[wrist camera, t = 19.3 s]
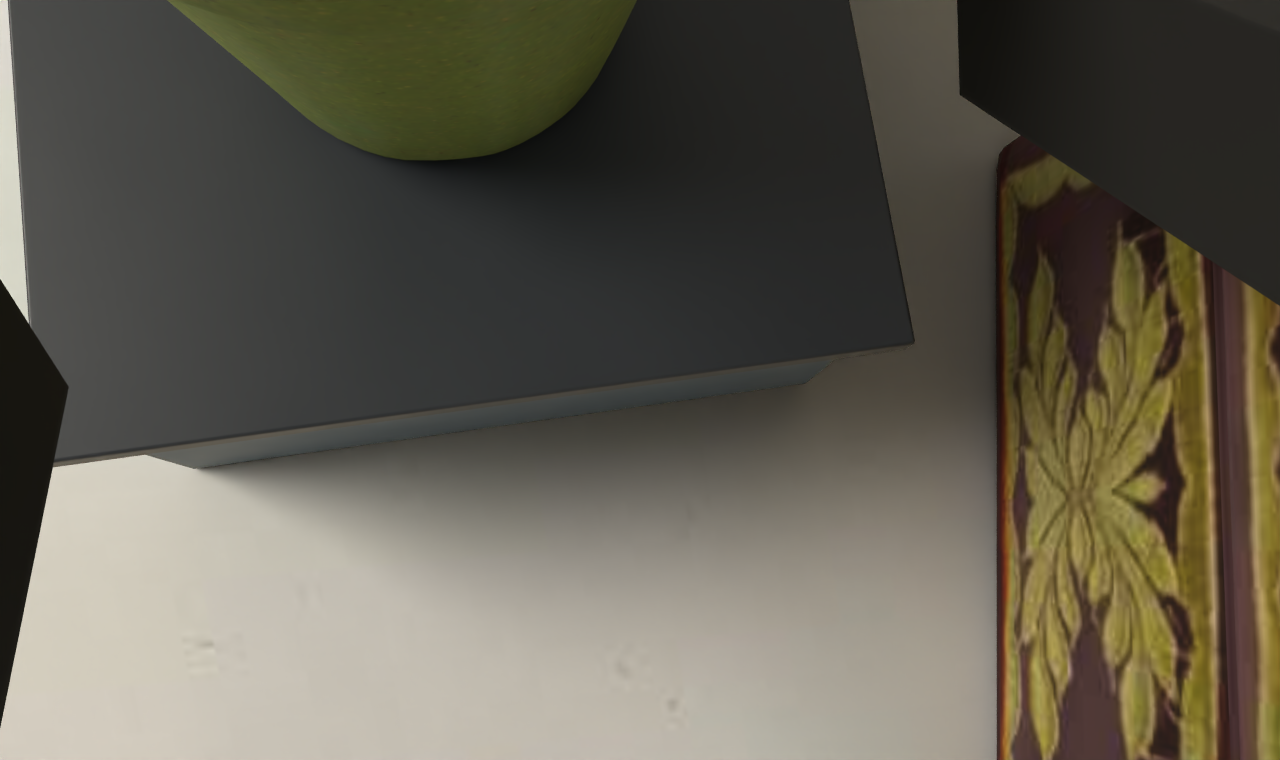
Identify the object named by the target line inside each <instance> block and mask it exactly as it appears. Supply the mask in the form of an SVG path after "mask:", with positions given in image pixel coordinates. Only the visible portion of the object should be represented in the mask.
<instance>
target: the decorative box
mask: <svg viewBox="0 0 1280 760" xmlns="http://www.w3.org/2000/svg"><path fill="white" fill-rule="evenodd" d="M996 383H997V760H1280V306H1279V305H1277V304H1276V303H1274V302H1273V301H1271V300H1270V299H1268V298H1267V297H1265V296H1264V295H1262V294H1261V293H1259V292H1258V291H1256V290H1255V289H1253V288H1252V287H1250V286H1249V285H1247V284H1246V283H1244V282H1243V281H1241V280H1240V279H1238V278H1237V277H1235V276H1233V275H1232V274H1230V273H1229V272H1227V271H1226V270H1224V269H1223V268H1221V267H1220V266H1218V265H1217V264H1215V263H1214V262H1212V261H1211V260H1209V259H1208V258H1206V257H1205V256H1203V255H1202V254H1200V253H1199V252H1197V251H1196V250H1194V249H1193V248H1191V247H1190V246H1188V245H1187V244H1185V243H1183V242H1182V241H1180V240H1179V239H1177V238H1176V237H1174V236H1173V235H1171V234H1170V233H1168V232H1167V231H1165V230H1164V229H1162V228H1161V227H1159V226H1158V225H1156V224H1155V223H1153V222H1152V221H1150V220H1149V219H1147V218H1146V217H1144V216H1143V215H1141V214H1140V213H1138V212H1137V211H1135V210H1133V209H1132V208H1130V207H1129V206H1127V205H1126V204H1124V203H1123V202H1121V201H1120V200H1118V199H1117V198H1115V197H1114V196H1112V195H1111V194H1109V193H1108V192H1106V191H1105V190H1103V189H1102V188H1100V187H1099V186H1097V185H1096V184H1094V183H1093V182H1091V181H1090V180H1088V179H1087V178H1085V177H1083V176H1082V175H1080V174H1079V173H1077V172H1076V171H1074V170H1073V169H1071V168H1070V167H1068V166H1067V165H1065V164H1064V163H1062V162H1061V161H1059V160H1058V159H1056V158H1055V157H1053V156H1052V155H1050V154H1049V153H1047V152H1046V151H1044V150H1043V149H1041V148H1040V147H1038V146H1036V145H1035V144H1033V143H1032V142H1030V141H1029V140H1027V139H1026V138H1024V137H1023V136H1020V137H1018V138H1017V139H1016V140H1014V141H1013V142H1011V143H1010V144H1009V145H1007V146H1006V147H1004V148H1003V150H1002V151H1001V153H1000V154H999V160H998V165H997V200H996Z"/></svg>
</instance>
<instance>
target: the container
mask: <svg viewBox="0 0 1280 760" xmlns="http://www.w3.org/2000/svg"><path fill="white" fill-rule="evenodd" d="M8 10H9V25H10V41H11V56H12V71H13V87H14V102H15V117H16V132H17V148H18V163H19V178H20V193H21V209H22V224H23V239H24V255H25V270H26V285H27V300H28V316H29V325H30V327H31V328H32V330H33V331H34V333H35V334H36V336H37V338H38V339H39V341H40V342H41V344H42V345H43V347H44V349H45V350H46V352H47V353H48V355H49V356H50V358H51V360H52V361H53V363H54V364H55V366H56V367H57V369H58V371H59V372H60V374H61V375H62V377H63V378H64V380H65V381H66V383H67V385H68V386H69V389H68V394H67V399H66V404H65V409H64V414H63V419H62V424H61V429H60V434H59V439H58V444H57V448H56V453H55V458H54V463H53V467H58V466H66V465H73V464H80V463H87V462H95V461H102V460H109V459H116V458H124V457H131V456H138V455H148V456H152V457H155V458H159V459H162V460H165V461H169V462H172V463H176V464H179V465H183V466H186V467H189V468H193V469H196V468H203V467H211V466H218V465H225V464H232V463H239V462H246V461H253V460H261V459H268V458H275V457H282V456H289V455H296V454H304V453H311V452H318V451H325V450H332V449H339V448H346V447H354V446H361V445H368V444H375V443H382V442H389V441H397V440H404V439H411V438H418V437H425V436H432V435H439V434H447V433H454V432H461V431H468V430H475V429H482V428H490V427H497V426H504V425H511V424H518V423H525V422H532V421H540V420H547V419H554V418H561V417H568V416H575V415H583V414H590V413H597V412H604V411H611V410H618V409H625V408H633V407H640V406H647V405H654V404H661V403H668V402H675V401H683V400H690V399H697V398H704V397H711V396H718V395H726V394H733V393H740V392H747V391H754V390H761V389H768V388H776V387H783V386H790V385H797V384H804V383H806V382H808V381H809V380H810V379H811V378H813V377H814V376H815V375H816V374H818V373H819V372H820V371H821V370H823V369H824V368H825V367H826V366H828V365H829V364H830V363H831V362H833V361H834V360H835V359H840V358H847V357H855V356H862V355H869V354H876V353H884V352H891V351H898V350H905V349H906V348H908V347H910V346H911V345H913V344H914V342H915V339H914V334H913V329H912V323H911V318H910V313H909V308H908V303H907V298H906V292H905V287H904V282H903V277H902V272H901V267H900V261H899V256H898V251H897V246H896V241H895V235H894V230H893V225H892V220H891V215H890V210H889V204H888V199H887V194H886V189H885V184H884V178H883V173H882V168H881V163H880V158H879V153H878V147H877V142H876V137H875V132H874V127H873V122H872V116H871V111H870V106H869V101H868V96H867V90H866V85H865V80H864V75H863V70H862V65H861V59H860V54H859V49H858V44H857V39H856V34H855V28H854V23H853V18H852V13H851V8H850V2H849V0H637V1H636V3H635V5H634V7H633V9H632V11H631V13H630V15H629V18H628V20H627V22H626V24H625V25H624V27H623V29H622V31H621V33H620V35H619V37H618V39H617V41H616V43H615V45H614V47H613V49H612V51H611V53H610V54H609V56H608V58H607V60H606V62H605V63H604V65H603V67H602V69H601V71H600V73H599V75H598V77H597V78H596V80H595V81H594V82H593V84H592V85H591V87H590V88H589V89H588V91H587V92H586V93H585V94H584V95H583V97H582V98H581V99H580V100H579V101H578V102H577V103H576V105H575V106H574V107H573V108H572V109H571V110H570V111H568V112H567V113H566V114H565V115H564V116H563V117H562V118H560V119H559V120H558V121H556V122H555V123H553V124H552V125H551V126H549V127H548V128H546V129H545V130H543V131H542V132H540V133H539V134H537V135H535V136H534V137H532V138H530V139H528V140H526V141H525V142H523V143H521V144H518V145H516V146H514V147H512V148H509V149H507V150H504V151H501V152H498V153H495V154H491V155H486V156H479V157H472V158H463V159H450V160H401V159H395V158H389V157H384V156H380V155H377V154H374V153H370V152H367V151H364V150H362V149H360V148H357V147H355V146H353V145H351V144H349V143H346V142H344V141H342V140H340V139H338V138H336V137H334V136H333V135H331V134H330V133H328V132H326V131H325V130H323V129H321V128H320V127H318V126H317V125H316V124H314V123H313V122H311V121H310V120H309V119H307V118H306V117H305V116H304V115H303V114H301V113H300V112H299V111H298V110H297V109H296V108H294V107H293V106H292V105H291V104H290V103H289V102H288V101H286V100H285V99H284V98H283V97H282V96H281V95H279V94H278V93H277V92H276V91H275V90H274V89H272V88H271V87H270V86H269V85H268V84H266V83H265V82H264V81H263V80H262V79H260V78H259V77H258V76H257V75H256V74H254V73H253V72H252V71H251V70H250V69H249V68H247V67H246V66H245V65H244V64H243V63H241V62H240V61H239V60H238V59H237V58H235V57H234V56H233V55H232V54H231V53H229V52H228V51H227V50H226V49H225V48H223V47H222V46H221V45H220V44H219V43H218V42H216V41H215V40H214V39H213V38H212V37H210V36H209V35H208V34H207V33H206V32H204V31H203V30H202V29H201V28H200V27H198V26H197V25H196V24H195V23H194V22H192V21H191V20H190V19H189V18H188V17H187V16H185V15H184V14H183V13H182V12H181V11H179V10H178V9H177V8H176V7H175V6H173V5H172V4H171V3H170V2H169V1H167V0H8Z"/></svg>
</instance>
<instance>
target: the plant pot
mask: <svg viewBox="0 0 1280 760" xmlns="http://www.w3.org/2000/svg"><path fill="white" fill-rule="evenodd" d="M167 1H169V2H170V3H171V4H172V5H173V6H175V7H176V8H177V9H178V10H179V11H181V12H182V13H183V14H184V15H185V16H187V17H188V18H189V19H190V20H191V21H192V22H194V23H195V24H196V25H197V26H198V27H200V28H201V29H202V30H203V31H204V32H206V33H207V34H208V35H209V36H210V37H212V38H213V39H214V40H215V41H216V42H218V43H219V44H220V45H221V46H222V47H223V48H225V49H226V50H227V51H228V52H229V53H231V54H232V55H233V56H234V57H235V58H237V59H238V60H239V61H240V62H241V63H243V64H244V65H245V66H246V67H247V68H249V69H250V70H251V71H252V72H253V73H254V74H256V75H257V76H258V77H259V78H260V79H262V80H263V81H264V82H265V83H266V84H268V85H269V86H270V87H271V88H272V89H274V90H275V91H276V92H277V93H278V94H279V95H281V96H282V97H283V98H284V99H285V100H286V101H288V102H289V103H290V104H291V105H292V106H293V107H294V108H296V109H297V110H298V111H299V112H300V113H301V114H303V115H304V116H305V117H306V118H307V119H309V120H310V121H311V122H313V123H314V124H316V125H317V126H318V127H320V128H321V129H323V130H325V131H326V132H328V133H330V134H331V135H333V136H334V137H336V138H338V139H340V140H342V141H344V142H346V143H349V144H351V145H353V146H355V147H357V148H360V149H362V150H364V151H367V152H370V153H374V154H377V155H380V156H384V157H389V158H395V159H401V160H450V159H463V158H472V157H479V156H486V155H491V154H495V153H498V152H501V151H504V150H507V149H509V148H512V147H514V146H516V145H518V144H521V143H523V142H525V141H526V140H528V139H530V138H532V137H534V136H535V135H537V134H539V133H540V132H542V131H543V130H545V129H546V128H548V127H549V126H551V125H552V124H553V123H555V122H556V121H558V120H559V119H560V118H562V117H563V116H564V115H565V114H566V113H567V112H568V111H570V110H571V109H572V108H573V107H574V106H575V105H576V103H577V102H578V101H579V100H580V99H581V98H582V97H583V95H584V94H585V93H586V92H587V91H588V89H589V88H590V87H591V85H592V84H593V82H594V81H595V80H596V78H597V77H598V75H599V73H600V71H601V69H602V67H603V65H604V63H605V62H606V60H607V58H608V56H609V54H610V53H611V51H612V49H613V47H614V45H615V43H616V41H617V39H618V37H619V35H620V33H621V31H622V29H623V27H624V25H625V24H626V22H627V20H628V18H629V15H630V13H631V11H632V9H633V7H634V5H635V3H636V1H637V0H167Z"/></svg>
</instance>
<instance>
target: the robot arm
mask: <svg viewBox="0 0 1280 760" xmlns="http://www.w3.org/2000/svg"><path fill="white" fill-rule="evenodd" d="M957 12H958V48H959V85H960V95H961V96H962V97H964V98H965V99H967V100H968V101H970V102H971V103H973V104H974V105H976V106H977V107H979V108H980V109H982V110H983V111H985V112H986V113H988V114H990V115H991V116H993V117H994V118H996V119H997V120H999V121H1000V122H1002V123H1003V124H1005V125H1006V126H1008V127H1009V128H1011V129H1012V130H1014V131H1015V132H1017V133H1018V134H1020V135H1021V136H1023V137H1024V138H1026V139H1027V140H1029V141H1030V142H1032V143H1033V144H1035V145H1036V146H1038V147H1040V148H1041V149H1043V150H1044V151H1046V152H1047V153H1049V154H1050V155H1052V156H1053V157H1055V158H1056V159H1058V160H1059V161H1061V162H1062V163H1064V164H1065V165H1067V166H1068V167H1070V168H1071V169H1073V170H1074V171H1076V172H1077V173H1079V174H1080V175H1082V176H1083V177H1085V178H1087V179H1088V180H1090V181H1091V182H1093V183H1094V184H1096V185H1097V186H1099V187H1100V188H1102V189H1103V190H1105V191H1106V192H1108V193H1109V194H1111V195H1112V196H1114V197H1115V198H1117V199H1118V200H1120V201H1121V202H1123V203H1124V204H1126V205H1127V206H1129V207H1130V208H1132V209H1133V210H1135V211H1137V212H1138V213H1140V214H1141V215H1143V216H1144V217H1146V218H1147V219H1149V220H1150V221H1152V222H1153V223H1155V224H1156V225H1158V226H1159V227H1161V228H1162V229H1164V230H1165V231H1167V232H1168V233H1170V234H1171V235H1173V236H1174V237H1176V238H1177V239H1179V240H1180V241H1182V242H1183V243H1185V244H1187V245H1188V246H1190V247H1191V248H1193V249H1194V250H1196V251H1197V252H1199V253H1200V254H1202V255H1203V256H1205V257H1206V258H1208V259H1209V260H1211V261H1212V262H1214V263H1215V264H1217V265H1218V266H1220V267H1221V268H1223V269H1224V270H1226V271H1227V272H1229V273H1230V274H1232V275H1233V276H1235V277H1237V278H1238V279H1240V280H1241V281H1243V282H1244V283H1246V284H1247V285H1249V286H1250V287H1252V288H1253V289H1255V290H1256V291H1258V292H1259V293H1261V294H1262V295H1264V296H1265V297H1267V298H1268V299H1270V300H1271V301H1273V302H1274V303H1276V304H1277V305H1279V306H1280V0H957ZM68 389H69V386H68V385H67V383H66V381H65V380H64V378H63V377H62V375H61V374H60V372H59V371H58V369H57V367H56V366H55V364H54V363H53V361H52V360H51V358H50V356H49V355H48V353H47V352H46V350H45V349H44V347H43V345H42V344H41V342H40V341H39V339H38V338H37V336H36V334H35V333H34V331H33V330H32V328H31V327H30V325H29V324H28V322H27V320H26V319H25V317H24V316H23V314H22V313H21V311H20V309H19V308H18V306H17V305H16V303H15V302H14V300H13V298H12V297H11V295H10V294H9V292H8V291H7V289H6V287H5V286H4V284H3V283H2V281H1V280H0V726H1V721H2V716H3V711H4V706H5V702H6V697H7V692H8V687H9V682H10V677H11V672H12V667H13V662H14V657H15V652H16V647H17V642H18V637H19V632H20V627H21V622H22V617H23V612H24V607H25V602H26V597H27V592H28V587H29V582H30V577H31V573H32V568H33V563H34V558H35V553H36V548H37V543H38V538H39V533H40V528H41V523H42V518H43V513H44V508H45V503H46V498H47V493H48V488H49V483H50V478H51V473H52V468H53V463H54V458H55V453H56V448H57V444H58V439H59V434H60V429H61V424H62V419H63V414H64V409H65V404H66V399H67V394H68Z"/></svg>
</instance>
